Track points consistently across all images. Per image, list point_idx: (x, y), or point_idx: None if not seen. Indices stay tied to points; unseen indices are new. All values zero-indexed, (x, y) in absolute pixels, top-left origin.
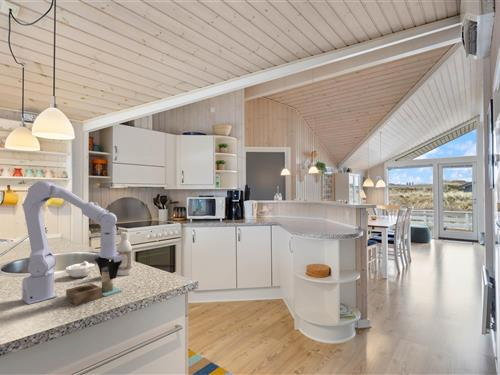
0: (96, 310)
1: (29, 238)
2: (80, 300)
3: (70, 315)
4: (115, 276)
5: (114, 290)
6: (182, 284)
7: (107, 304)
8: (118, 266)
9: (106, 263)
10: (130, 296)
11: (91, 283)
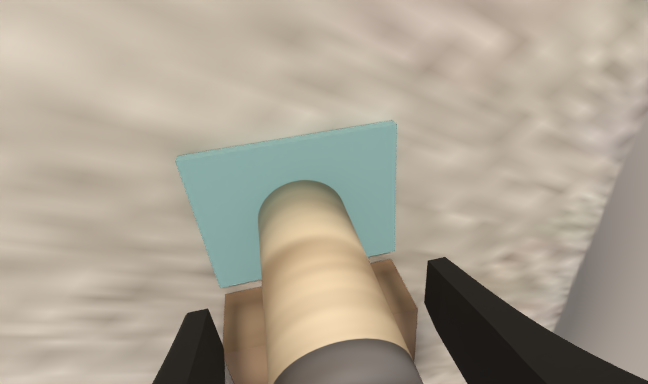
0: (533, 299)
1: None
2: None
3: None
4: (461, 276)
5: (346, 175)
6: None
7: (518, 253)
8: (609, 377)
9: None
10: (543, 107)
11: (224, 353)
